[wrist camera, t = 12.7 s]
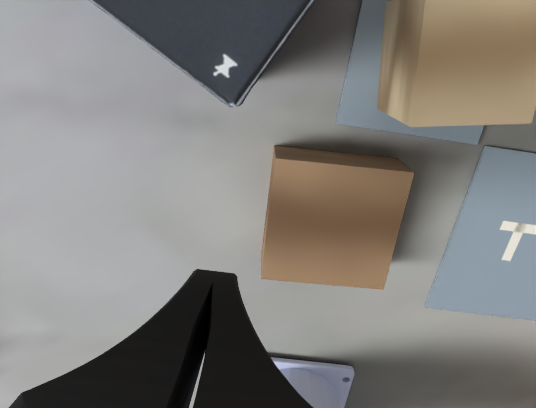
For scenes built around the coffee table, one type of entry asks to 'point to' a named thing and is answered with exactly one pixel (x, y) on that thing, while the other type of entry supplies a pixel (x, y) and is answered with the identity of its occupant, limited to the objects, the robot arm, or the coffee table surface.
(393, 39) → the oak block
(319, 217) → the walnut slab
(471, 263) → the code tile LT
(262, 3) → the small box
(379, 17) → the code tile
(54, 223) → the coffee table surface
